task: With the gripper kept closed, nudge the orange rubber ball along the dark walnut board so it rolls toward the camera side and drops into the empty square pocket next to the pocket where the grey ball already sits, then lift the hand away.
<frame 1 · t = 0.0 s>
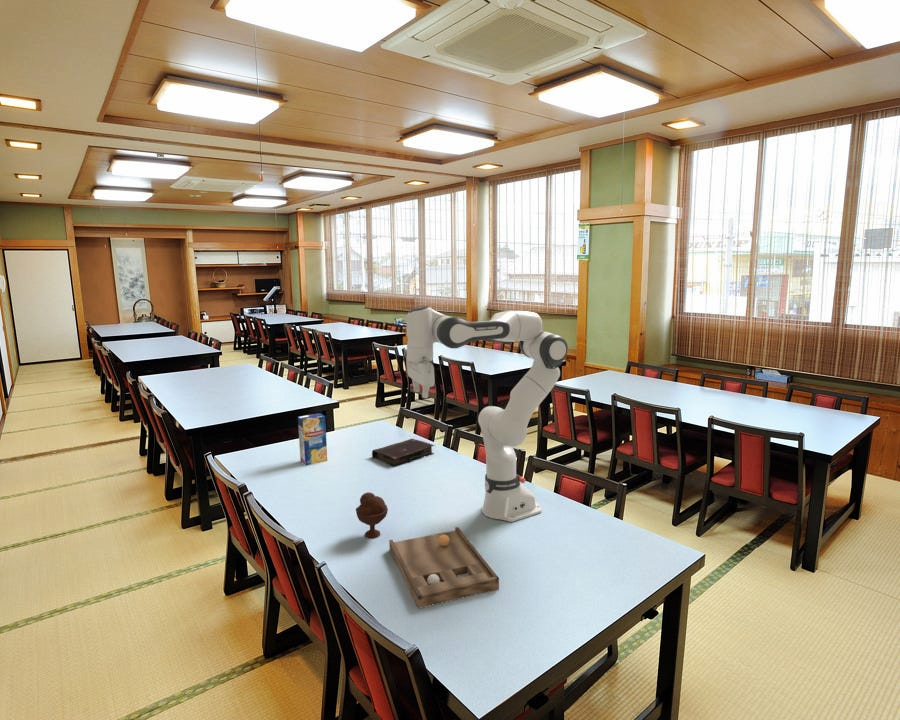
hand: (420, 394, 180), 48 cm above the table, fingers open, 8 cm apart
ice cream bowl: (372, 535, 182), on the table
diary: (403, 457, 258), on the table
ball orange: (443, 540, 169), point 4 cm above the table, touching deck
deck: (440, 568, 161), on the table
ball grey: (433, 580, 152), point 2 cm above the table
beverage box: (314, 461, 252), on the table
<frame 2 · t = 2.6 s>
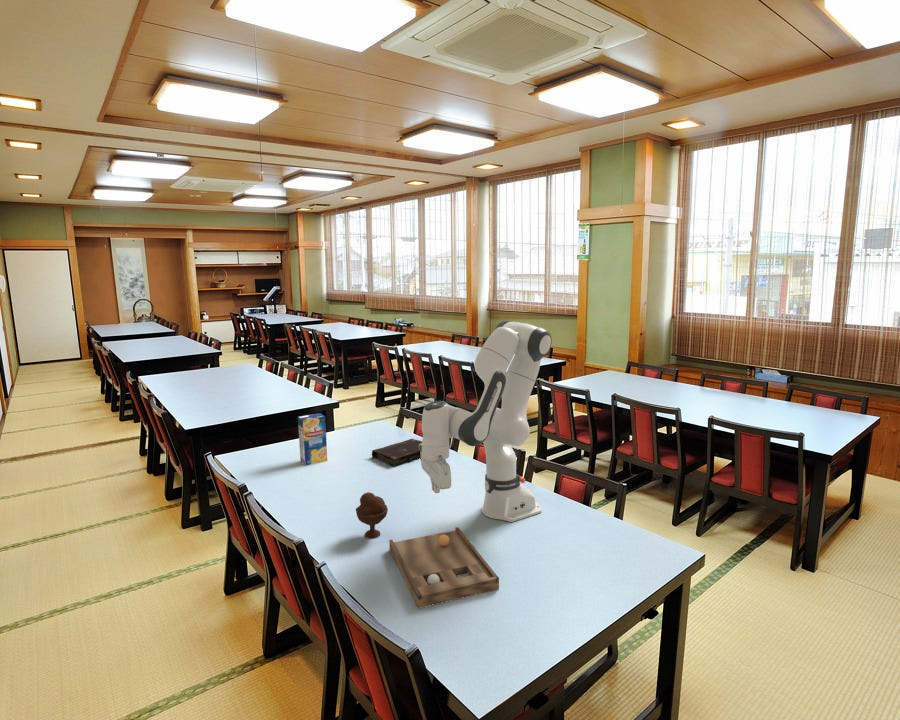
hand: (435, 491, 173), 18 cm above the table, fingers closed
nothing on the table moved.
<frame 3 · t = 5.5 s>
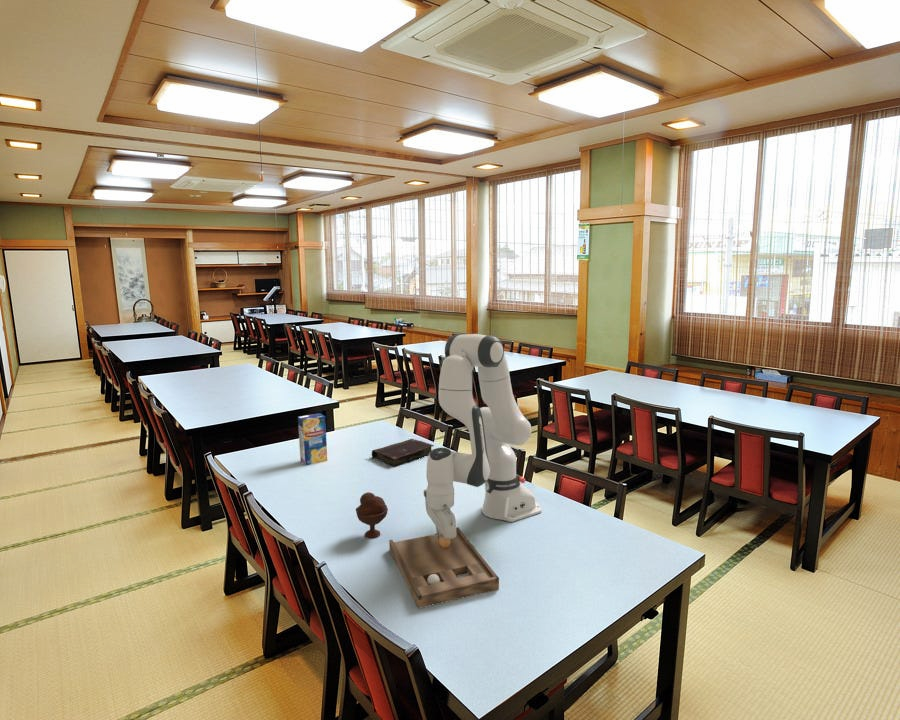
hand: (440, 538, 171), 4 cm above the table, fingers closed
ball orange: (444, 541, 168), point 4 cm above the table, tilted 29°, touching deck, gripper
everything else where it was.
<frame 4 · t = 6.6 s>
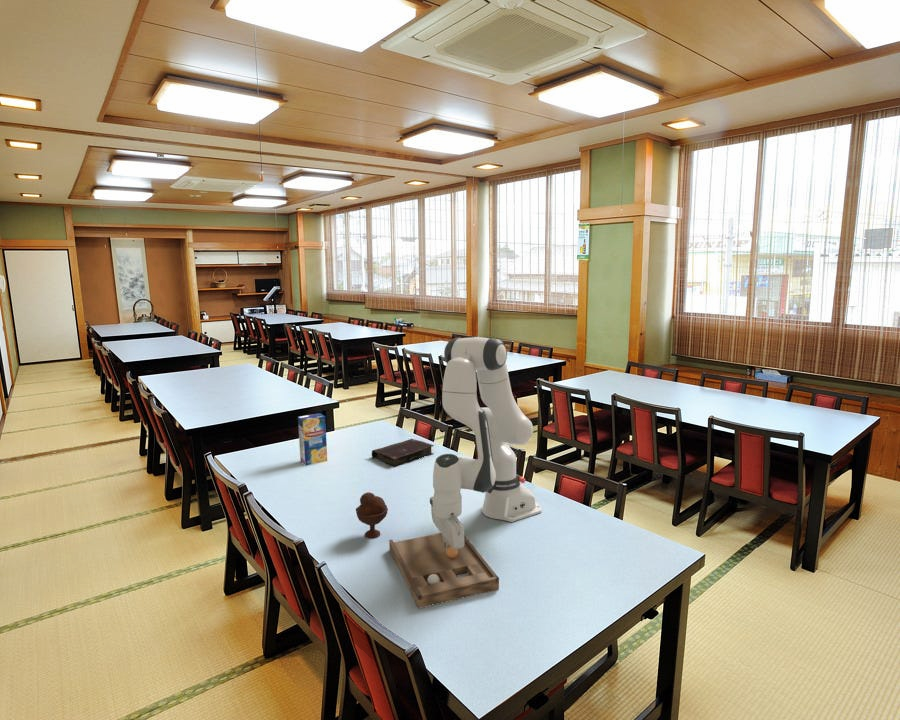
hand: (447, 548, 165), 4 cm above the table, fingers closed
ball orange: (451, 552, 162), point 4 cm above the table, tilted 123°, touching deck
everything else where it was.
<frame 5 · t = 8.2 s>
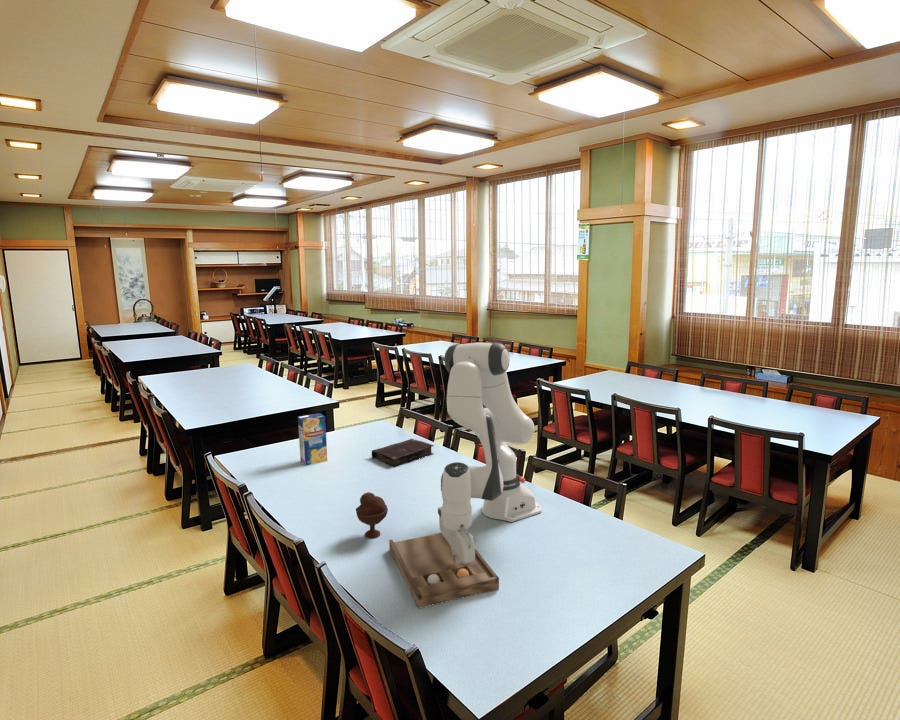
hand: (456, 561, 158), 4 cm above the table, fingers closed
ball orange: (462, 575, 154), point 2 cm above the table, tilted 167°
everything else where it was.
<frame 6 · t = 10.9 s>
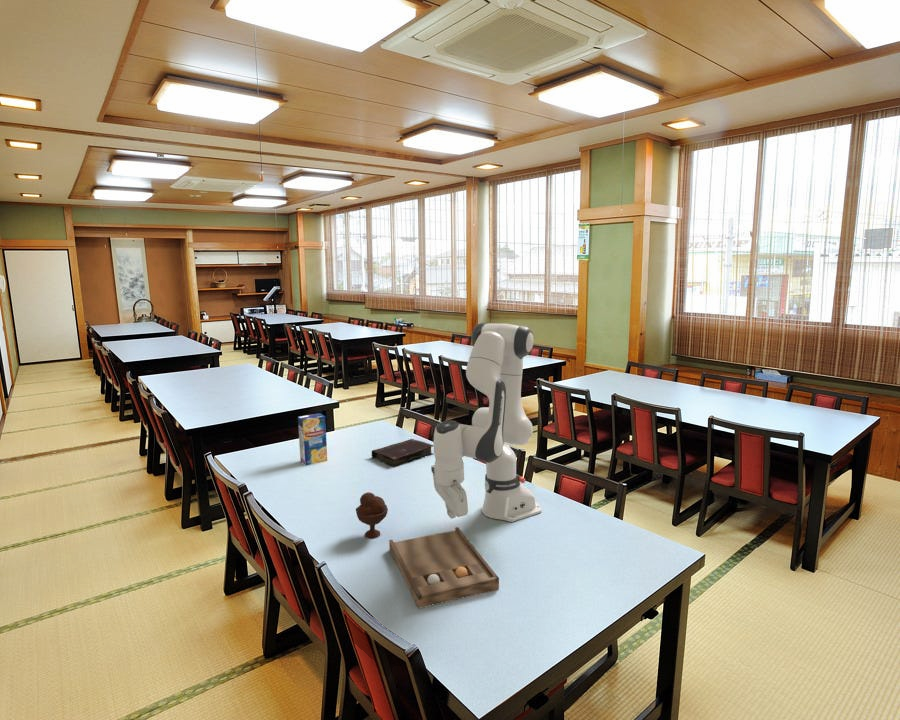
hand: (451, 516, 163), 15 cm above the table, fingers closed
ball orange: (461, 573, 155), point 2 cm above the table, tilted 158°
everything else where it was.
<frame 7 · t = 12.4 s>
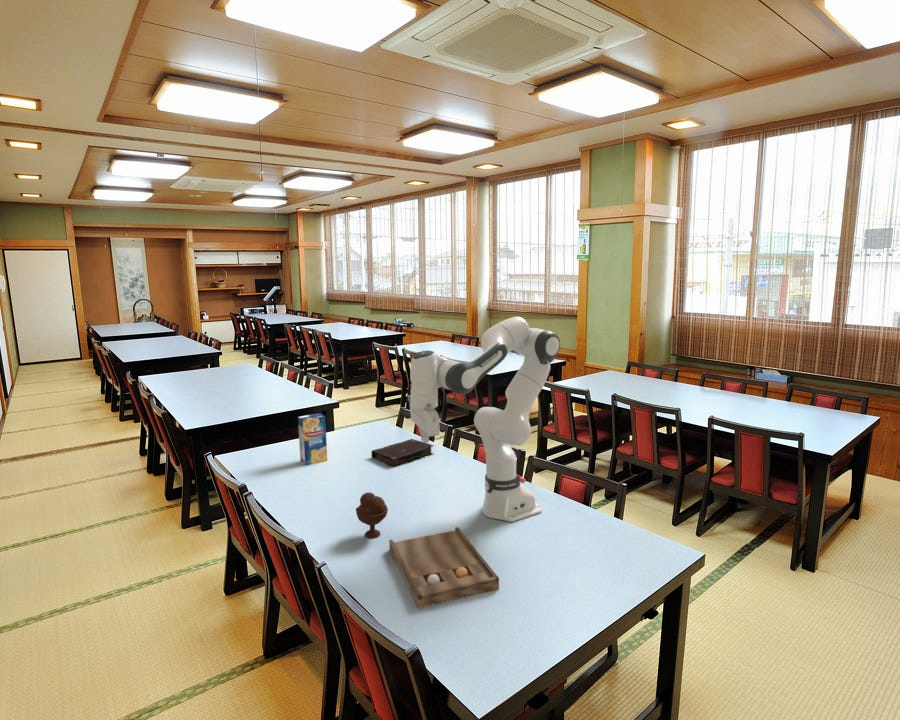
hand: (425, 441, 174), 34 cm above the table, fingers closed
ball orange: (461, 573, 155), point 2 cm above the table, tilted 164°
everything else where it was.
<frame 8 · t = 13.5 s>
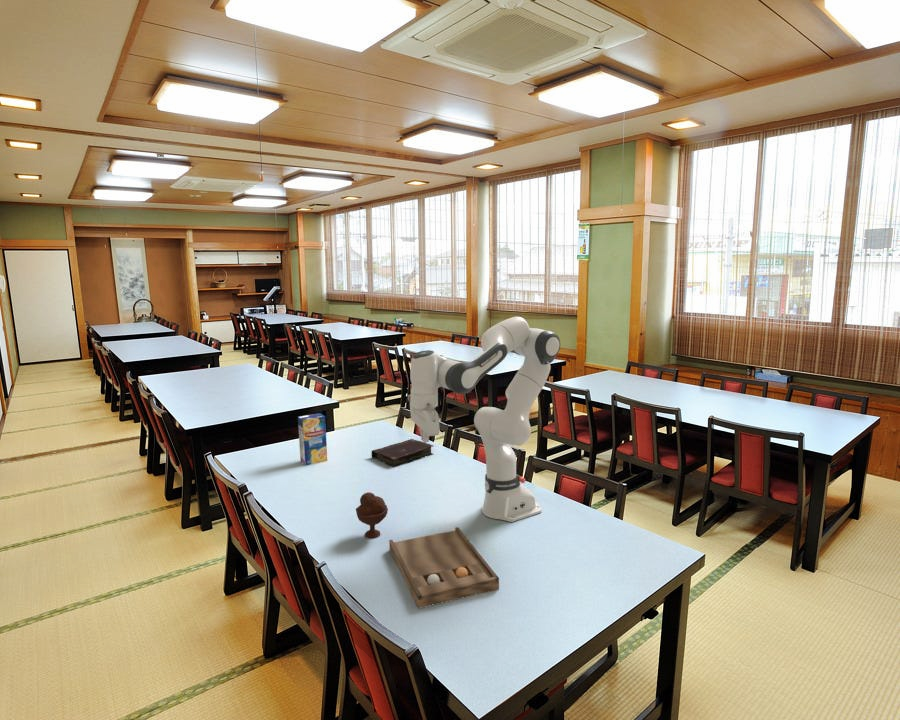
hand: (425, 441, 174), 34 cm above the table, fingers closed
nothing on the table moved.
at the end: ball orange 0.3 cm from the target spot on the deck, point 1.8 cm above the deck's base; ball grey moved 0.1 cm from its start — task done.
